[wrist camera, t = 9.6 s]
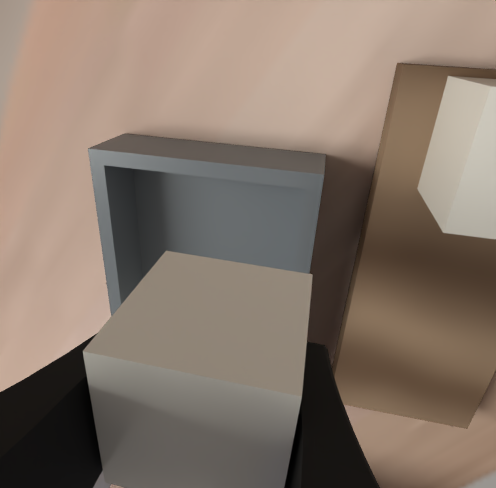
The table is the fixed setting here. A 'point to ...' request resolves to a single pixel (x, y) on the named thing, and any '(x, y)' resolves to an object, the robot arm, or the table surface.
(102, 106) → the table surface
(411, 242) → the brown flat slab
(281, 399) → the off-white stacked cube
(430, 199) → the off-white block
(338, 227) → the table surface
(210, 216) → the bin
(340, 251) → the table surface
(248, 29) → the table surface
